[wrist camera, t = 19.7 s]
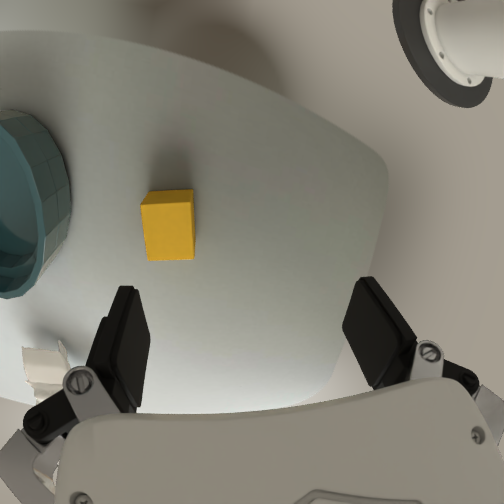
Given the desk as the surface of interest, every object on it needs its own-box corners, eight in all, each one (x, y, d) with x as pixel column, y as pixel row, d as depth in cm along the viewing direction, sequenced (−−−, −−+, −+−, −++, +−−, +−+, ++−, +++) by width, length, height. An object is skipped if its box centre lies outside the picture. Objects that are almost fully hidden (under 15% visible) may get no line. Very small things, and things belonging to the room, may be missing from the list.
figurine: (101, 323, 38) (26, 337, 31) (96, 333, 28) (2, 349, 21) (129, 407, 38) (57, 420, 31) (134, 439, 27) (45, 452, 21)
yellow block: (154, 242, 25) (147, 261, 22) (148, 191, 23) (139, 204, 20) (195, 240, 26) (194, 259, 23) (193, 188, 23) (191, 201, 20)
